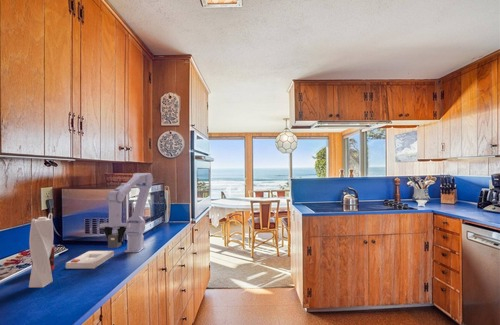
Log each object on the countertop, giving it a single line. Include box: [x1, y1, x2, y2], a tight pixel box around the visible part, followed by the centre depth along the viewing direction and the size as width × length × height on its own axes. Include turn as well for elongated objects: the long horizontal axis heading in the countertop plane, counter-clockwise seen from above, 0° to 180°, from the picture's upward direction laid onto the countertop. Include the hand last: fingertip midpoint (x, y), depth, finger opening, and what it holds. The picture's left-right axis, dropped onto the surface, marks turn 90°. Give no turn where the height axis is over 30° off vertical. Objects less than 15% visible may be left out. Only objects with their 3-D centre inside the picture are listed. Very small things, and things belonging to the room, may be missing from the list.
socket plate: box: [65, 250, 115, 270], centre depth 132 cm, size 18×13×3 cm
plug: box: [107, 232, 122, 249], centre depth 135 cm, size 7×4×6 cm
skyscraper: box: [28, 212, 54, 288], centre depth 107 cm, size 8×8×28 cm
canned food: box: [31, 243, 55, 272], centre depth 120 cm, size 8×8×11 cm
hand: (114, 242), depth 135 cm, fingers closed on plug, 4 cm apart
